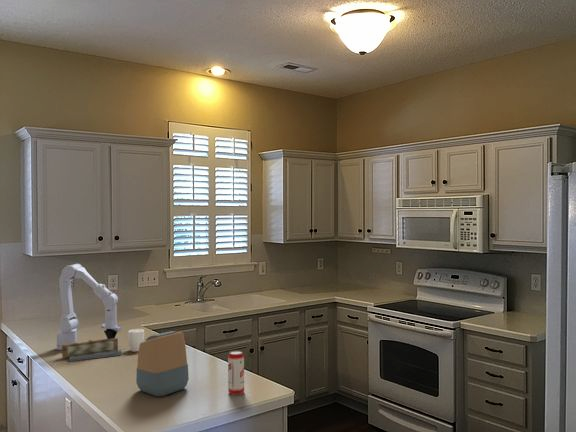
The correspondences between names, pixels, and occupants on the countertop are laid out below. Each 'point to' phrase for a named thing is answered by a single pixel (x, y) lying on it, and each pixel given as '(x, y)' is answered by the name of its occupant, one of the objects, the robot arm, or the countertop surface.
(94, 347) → the picture frame
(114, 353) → the slanted bar
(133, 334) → the white cup
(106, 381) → the countertop surface
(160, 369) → the two-tone smart speaker
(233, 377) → the beer can
